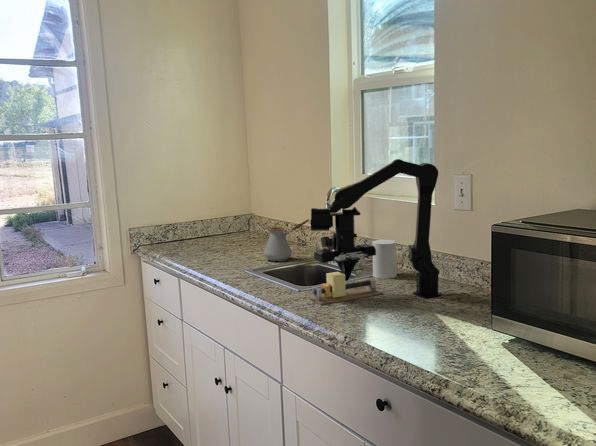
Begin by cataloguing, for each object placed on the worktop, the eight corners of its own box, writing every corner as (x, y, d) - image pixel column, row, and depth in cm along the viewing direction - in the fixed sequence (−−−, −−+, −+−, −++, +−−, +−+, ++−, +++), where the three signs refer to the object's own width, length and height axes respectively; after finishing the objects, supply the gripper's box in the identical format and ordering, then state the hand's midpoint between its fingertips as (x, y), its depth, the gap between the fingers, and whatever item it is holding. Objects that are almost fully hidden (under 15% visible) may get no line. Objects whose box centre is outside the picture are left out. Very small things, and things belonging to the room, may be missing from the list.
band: (330, 296, 170) (329, 285, 170) (326, 296, 170) (326, 286, 169) (325, 293, 173) (324, 283, 173) (321, 294, 173) (321, 284, 172)
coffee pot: (271, 264, 224) (270, 226, 222) (259, 259, 234) (257, 223, 232) (318, 256, 234) (317, 220, 232) (304, 252, 244) (303, 217, 242)
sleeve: (345, 295, 172) (345, 274, 171) (334, 297, 170) (333, 276, 169) (338, 292, 176) (337, 271, 175) (326, 294, 174) (326, 273, 173)
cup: (396, 278, 194) (395, 244, 192) (372, 278, 195) (371, 244, 194) (397, 273, 202) (396, 239, 200) (373, 272, 203) (373, 239, 202)
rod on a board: (380, 294, 175) (380, 281, 175) (320, 305, 166) (320, 291, 166) (366, 288, 183) (366, 276, 182) (308, 298, 174) (307, 285, 173)
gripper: (357, 223, 183) (358, 271, 185) (305, 229, 175) (306, 279, 177) (376, 228, 173) (377, 278, 175) (322, 234, 165) (323, 287, 167)
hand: (346, 280), depth 174 cm, fingers closed
